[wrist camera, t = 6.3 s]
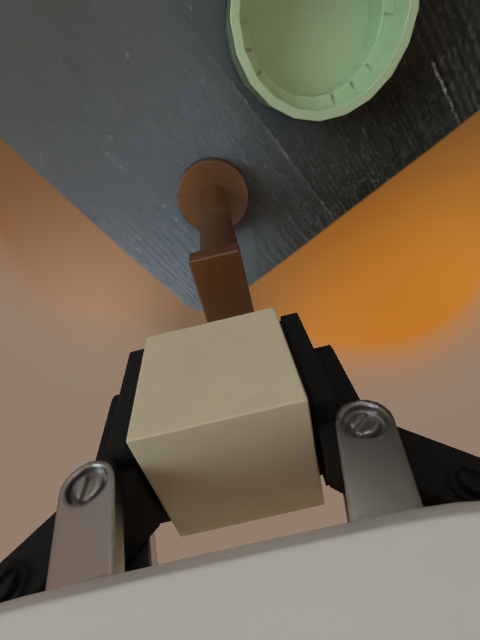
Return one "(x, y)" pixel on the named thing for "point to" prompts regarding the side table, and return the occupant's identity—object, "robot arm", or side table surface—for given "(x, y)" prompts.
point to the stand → (216, 235)
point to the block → (224, 424)
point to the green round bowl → (317, 51)
